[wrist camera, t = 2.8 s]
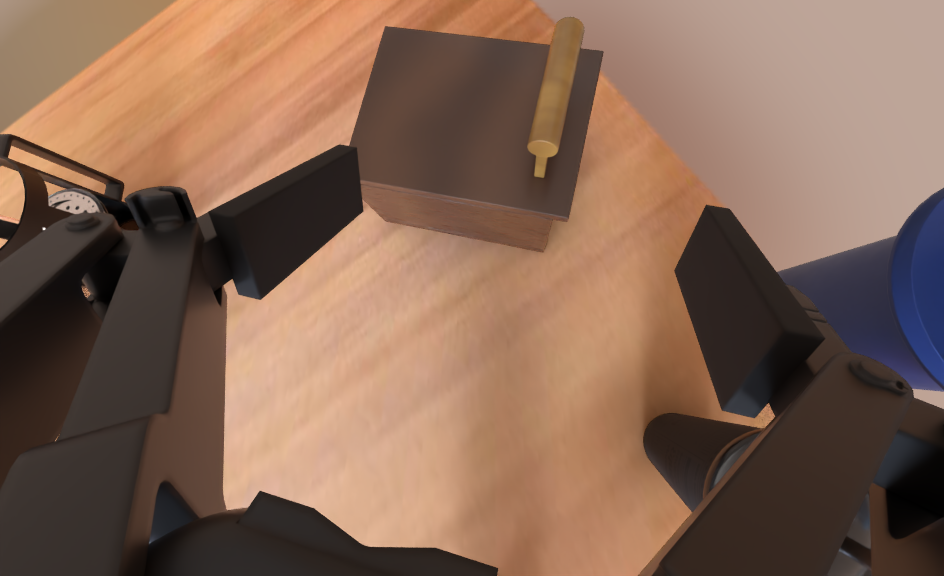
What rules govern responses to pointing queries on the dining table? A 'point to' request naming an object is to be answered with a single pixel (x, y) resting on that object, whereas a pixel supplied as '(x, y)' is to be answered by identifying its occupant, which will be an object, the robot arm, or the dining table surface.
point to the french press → (54, 196)
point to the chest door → (479, 118)
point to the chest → (459, 218)
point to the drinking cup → (711, 456)
